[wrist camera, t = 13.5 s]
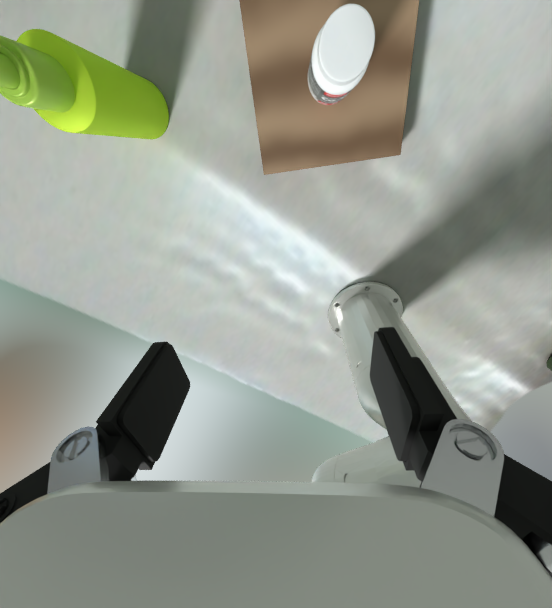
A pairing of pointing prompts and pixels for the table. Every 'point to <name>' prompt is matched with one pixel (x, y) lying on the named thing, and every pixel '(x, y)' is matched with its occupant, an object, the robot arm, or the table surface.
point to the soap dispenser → (79, 88)
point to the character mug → (549, 363)
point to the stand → (296, 94)
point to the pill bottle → (341, 54)
